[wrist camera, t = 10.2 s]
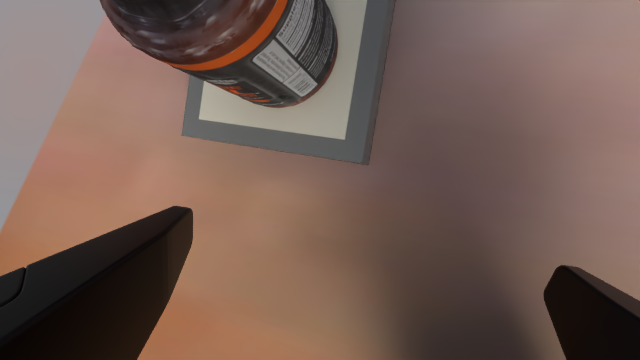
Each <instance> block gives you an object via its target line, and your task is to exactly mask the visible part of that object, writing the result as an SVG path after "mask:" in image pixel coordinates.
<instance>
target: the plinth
mask: <svg viewBox="0 0 640 360" xmlns="http://www.w3.org/2000/svg"><path fill="white" fill-rule="evenodd" d="M325 1H326V3H327V5H328V7H329V9H330V12H331V14H332V17H333V19H334V23H335V25H336V29H337V36H338V51H337V58H336V61H335V65H334V67H333V70H332V72H331V74H330V76H329V78H328V79H327V81H326V83H325V84H324V85H323V86H322V87H321V88H320V89H319V91H317V92H316V93H315V94H314V95H313V96H311V97H310V98H309V99H307V100H305V101H304V102H302V103H300V104H297V105H295V106H290V107H284V108H271V107H265V106H262V105H257V104H253V103H252V102H249V101H247V100H244V99H242V98H240V97H239V96H237V95H234V94H231V93H230V92H227V91H225V90H223V89H221V88H219V87H217V86H215V85H212V84H210V83H208V82H206V81H203V80H200V79H198V78H196V77H194V76H192V75H190V78H189V85H188V92H187V100H186V107H185V114H184V121H183V129H182V136H188V137H194V138H200V139H205V140H211V141H218V142H224V143H231V144H237V145H244V146H250V147H256V148H263V149H269V150H276V151H282V152H289V153H295V154H302V155H308V156H315V157H321V158H328V159H334V160H340V161H347V162H353V163H360V164H366V165H369V158H370V152H371V146H372V140H373V134H374V128H375V122H376V116H377V110H378V103H379V97H380V91H381V85H382V79H383V73H384V67H385V61H386V55H387V48H388V42H389V36H390V30H391V24H392V18H393V12H394V6H395V0H325Z"/></svg>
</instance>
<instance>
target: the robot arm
mask: <svg viewBox="0 0 640 360" xmlns="http://www.w3.org/2000/svg"><path fill="white" fill-rule="evenodd" d="M192 240H193V212H192V209H191V208H187V207H180V206H172V207H170V208H168V209H165V210H163V211H160V212H158V213H155V214H153V215H150V216H148V217H145V218H143V219H140V220H138V221H136V222H133V223H131V224H128V225H126V226H123V227H121V228H118V229H116V230H113V231H111V232H108V233H106V234H103V235H101V236H99V237H96V238H94V239H91V240H89V241H86V242H84V243H81V244H79V245H76V246H74V247H71V248H69V249H66V250H64V251H62V252H59V253H57V254H54V255H52V256H49V257H47V258H44V259H42V260H39V261H37V262H34V263H32V264H29V265H28V266H27V267H26V268H24V267H22V268H19V269H17V270H15V271H12V272H10V273H7V274H5V275H2V276H0V360H137V359H138V357H139V355H140V353H141V351H142V349H143V348H144V346H145V344H146V342H147V340H148V339H149V337H150V335H151V333H152V331H153V330H154V328H155V326H156V324H157V322H158V320H159V319H160V317H161V315H162V313H163V311H164V309H165V308H166V306H167V304H168V302H169V299H170V297H171V295H172V292H173V290H174V288H175V285H176V283H177V280H178V278H179V275H180V273H181V270H182V268H183V265H184V263H185V260H186V258H187V255H188V253H189V250H190V248H191V245H192ZM544 301H545V304H546V307H547V309H548V312H549V315H550V317H551V320H552V323H553V326H554V328H555V331H556V334H557V336H558V339H559V342H560V344H561V347H562V350H563V352H564V355H565V357H566V360H640V301H639V300H637V299H635V298H633V297H631V296H630V295H628V294H626V293H624V292H622V291H621V290H619V289H617V288H615V287H613V286H611V285H610V284H608V283H606V282H604V281H602V280H601V279H599V278H597V277H595V276H593V275H591V274H590V273H588V272H586V271H584V270H582V269H581V268H578V267H573V266H566V265H561V266H559V267H557V268H556V270H555V271H554V273H553V275H552V277H551V279H550V281H549V282H548V284H547V286H546V288H545V290H544Z"/></svg>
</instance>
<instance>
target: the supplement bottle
mask: <svg viewBox="0 0 640 360" xmlns="http://www.w3.org/2000/svg"><path fill="white" fill-rule="evenodd" d="M100 2H101V5H102V8H103V9H104V11H105V13H106V15H107V17H108V18H109V19H110V21H111V23H112V25H113V26H114V27H115V28H116V30H117V31H118V32H119V33H120V34H121V36H123V37H124V38H125V39H126V40H127V41H129V42H130V43H131V44H132V46H133V47H135V48H137V49H139V50H141V51H143V52H144V53H146V54H148V55H149V56H151V57H153V58H155V59H157V60H159V61H162V62H164V63H167V64H169V65H170V66H172V67H174V68H176V69H179V70H181V71H183V72H185V73H187V74H190V75H192V76H194V77H196V78H198V79H200V80H203V81H206V82H208V83H210V84H212V85H215V86H217V87H219V88H221V89H223V90H225V91H227V92H230V93H231V94H234V95H237V96H239V97H240V98H242V99H244V100H247V101H249V102H252V103H253V104H257V105H262V106H265V107H271V108H284V107H290V106H295V105H297V104H300V103H302V102H304V101H305V100H307V99H309V98H310V97H311V96H313V95H314V94H315V93H316V92H317V91H319V89H320V88H321V87H322V86H323V85H324V84H325V83H326V81H327V79H328V78H329V76H330V74H331V72H332V70H333V67H334V65H335V61H336V58H337V51H338V36H337V29H336V25H335V23H334V19H333V17H332V14H331V12H330V9H329V7H328V5H327V3H326V1H325V0H100Z"/></svg>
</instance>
